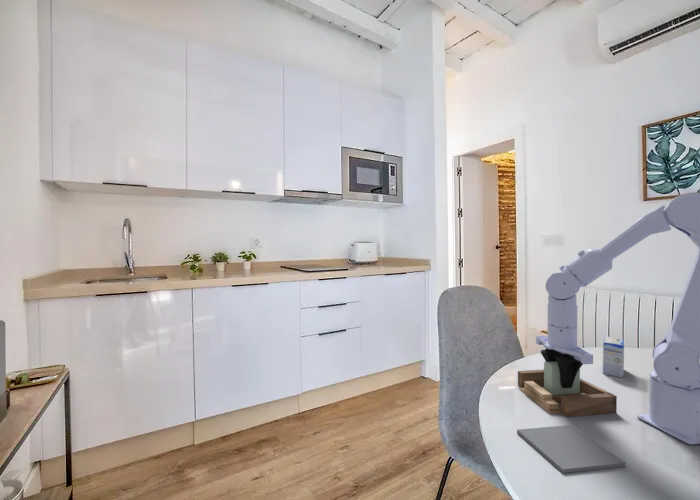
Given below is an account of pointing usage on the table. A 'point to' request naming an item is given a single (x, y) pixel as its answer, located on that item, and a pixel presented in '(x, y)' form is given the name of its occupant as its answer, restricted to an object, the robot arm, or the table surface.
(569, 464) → the mat
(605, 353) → the medicine box
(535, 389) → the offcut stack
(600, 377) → the table surface
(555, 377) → the panel
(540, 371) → the rack
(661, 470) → the table surface
